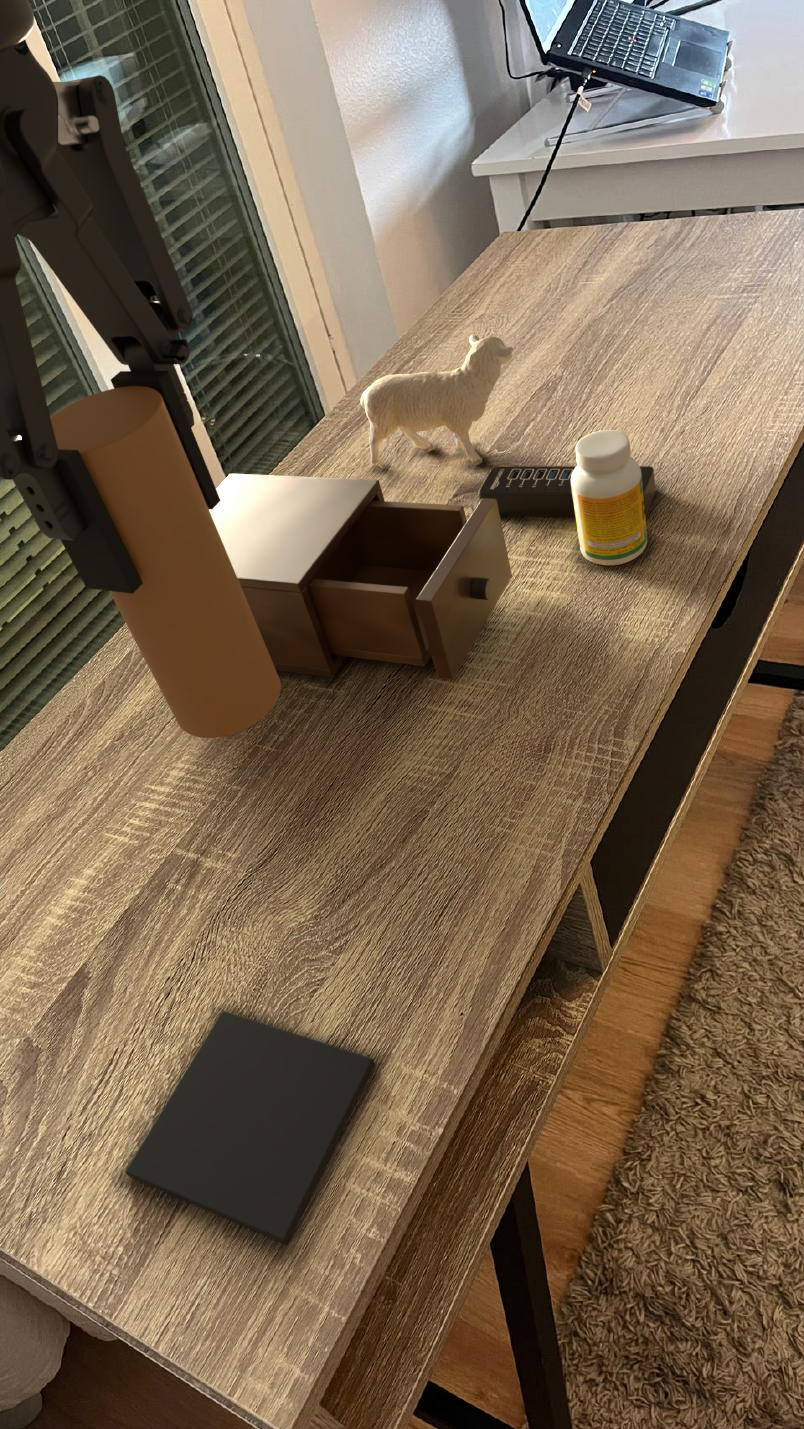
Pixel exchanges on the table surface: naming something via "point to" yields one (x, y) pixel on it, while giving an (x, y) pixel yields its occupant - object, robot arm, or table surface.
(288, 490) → the cabinet
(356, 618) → the drawer
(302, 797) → the table surface
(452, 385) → the figurine
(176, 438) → the brown cylinder
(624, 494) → the supplement bottle
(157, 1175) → the mat
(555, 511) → the multiport hub
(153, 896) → the table surface
